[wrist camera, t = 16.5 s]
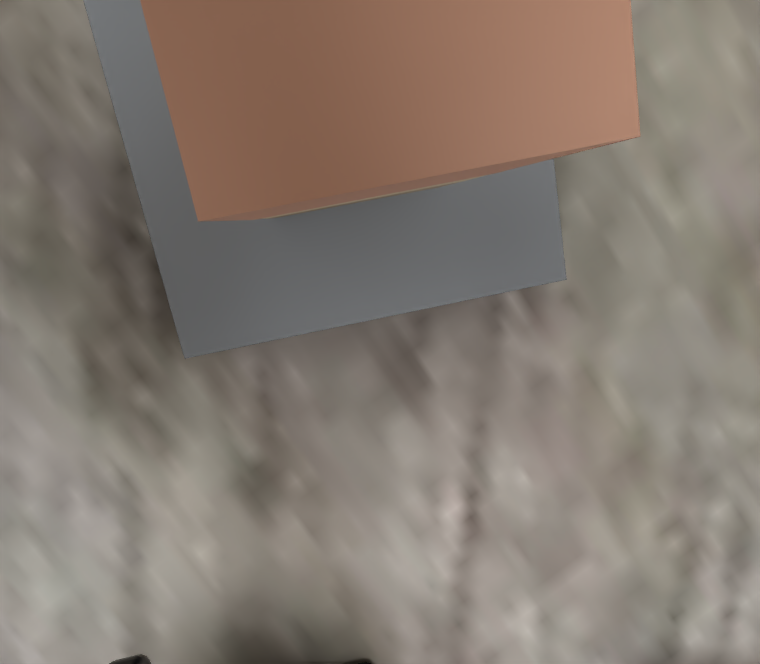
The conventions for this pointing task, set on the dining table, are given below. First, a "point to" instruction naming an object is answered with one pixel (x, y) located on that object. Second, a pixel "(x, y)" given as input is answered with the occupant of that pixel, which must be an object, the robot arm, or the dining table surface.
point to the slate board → (315, 229)
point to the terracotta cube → (383, 93)
